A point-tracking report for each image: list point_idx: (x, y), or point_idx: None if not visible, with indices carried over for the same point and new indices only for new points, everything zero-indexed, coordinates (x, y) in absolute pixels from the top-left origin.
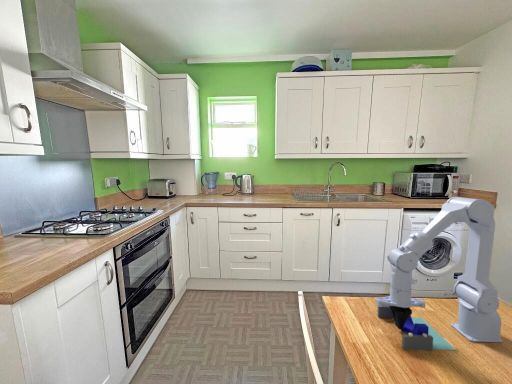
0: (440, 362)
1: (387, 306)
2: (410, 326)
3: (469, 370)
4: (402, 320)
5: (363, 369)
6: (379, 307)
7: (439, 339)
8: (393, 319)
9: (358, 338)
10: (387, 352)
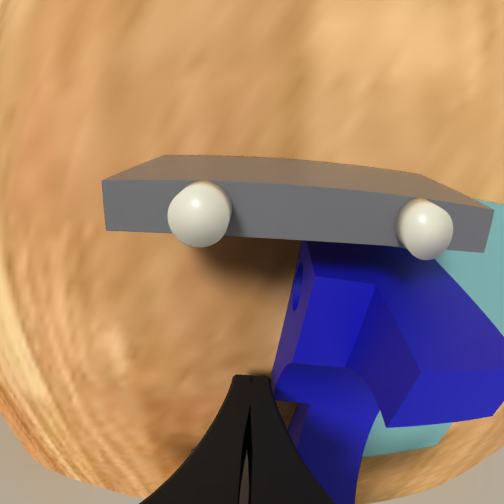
0: None
1: (264, 219)
2: (351, 396)
3: (372, 493)
4: (249, 485)
5: (41, 456)
6: (115, 228)
7: None
8: (302, 242)
9: (10, 373)
10: (114, 450)
